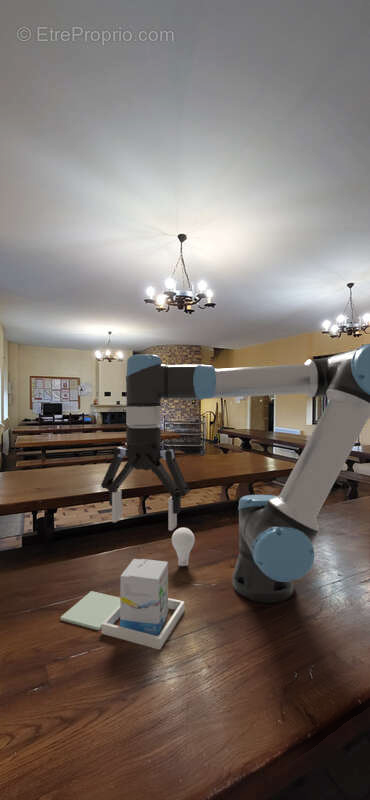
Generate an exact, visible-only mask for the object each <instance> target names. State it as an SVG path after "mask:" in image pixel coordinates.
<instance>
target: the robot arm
mask: <svg viewBox="0 0 370 800" xmlns="http://www.w3.org/2000/svg"><path fill="white" fill-rule="evenodd" d="M126 364H127V365H126V374H125V383H126V385H125V386H126V387H125V388H126V389H125V390H126V393H125V394H126V395H125V396H126V398H125V399H126V407H125V408H126V410H125V411H126V412H125V414H126V417H125V420H126V421H125V422H126V423H125V424H126V425H127V426H128V427H127V428H126V433H125V434H126V438H125V439H126V442H125V443H126V445H127V447H126V448H125V447H123V446H118V447H115V448H114V449H113V454H112V455H113V456H112V460H111V461H110V464H109V466H108V468H107V470H106V473H105V475H104V478H103V479H102V482H101V484H100V485H101V486H100V487H101V488H102V489H106V490H107V491H108V496H109V498H108V500H109V501H108V503H109V506H111V522H112V523H117V522H118V521H120V520H122V510H123V509H122V504H123V503H122V492H123V491H122V489H120V488H121V485H122V484H123V483H124V481H126V479H127V478H128V477H129V475H130V474H131V472H133V470H134V469H135V470H144V471H150V470H151V472H152V473H153V474H155V475H156V477H157V478H158V479H159V481H160V482H161V483H162V485H163V486H164V488H165V489H166V490H167V492H168V493H169V495H170V497H169V498H168V501H167V504H168V505H167V508H168V516H167V517H168V520H167V521H168V525H167V526H168V531H170V532H171V531H173V530H174V529H176V527H177V526H178V523H177V522H178V517H177V515H178V514H179V513H180V512H181V510H182V509H181V508H182V507H181V506H182V503H181V501H182V500H181V497H184V496H186V495H187V494H189V493H190V489H189V487H188V484H187V482H186V479H185V477H184V475H183V472H182V470H181V468H180V465H179V464H178V462H177V459H176V458H177V457H176V451H175V449H173V448H170V449H167V450H162V446H161V445H162V429H161V427H160V426H161V424H162V407H161V406H162V400H183V401H194V400H199V401H201V400H202V401H203V400H210V399H223V398H227V399H228V398H245V397H262V396H264V397H265V396H278V395H279V396H280V395H281V396H282V395H283V396H284V395H298V394H299V395H301V394H302V395H304V394H305V395H306V396H307V397H308V398H320V397H321V398H327V400H328V402H327V405H326V406H325V408H324V410H323V412H322V414H321V416H320V417H319V419H318V422H317V423H316V426H315V428H314V429H313V430H312V433H311V434H310V437H309V438H308V440H307V442H306V444H305V446H304V448H303V450H302V452H301V454H300V456H299V457H298V459H297V461H296V463H295V465H294V467H293V469H292V470H291V472H290V474H289V476H288V478H287V480H286V482H285V483H284V485H283V487H282V490H281V491H280V494H279V495H272V494H249V495H248V494H247V495H244V496H242V497H240V499H239V501H238V508H237V509H238V533H239V535H238V537H239V538H238V539H239V540H238V542H239V544H238V545H239V551H238V552H239V553H238V557H237V560H236V564H235V567H234V570H233V572H232V573H233V574H232V586H233V588H234V590H235V591H236V592H237V593H238V594H239V595H241V596H242V597H244V598H246V599H248V600H251V601H254V602H259V603H267V604H270V603H280V602H283V601H285V600H287V599H289V598H291V597H292V595H293V593H294V581H297V580H300V579H301V578H303V577H304V576H305V575H307V574H308V573H309V572H310V570H311V568H312V567H313V565H314V561H315V549H314V545H313V541H314V540H315V538H316V536H317V534H318V532H319V530H320V526H319V524H318V521H317V516H318V515H319V513H320V510H321V509H322V507H323V505H324V504H325V502H326V499H327V498H328V496H329V494H330V492H331V490H332V488H333V486H334V484H335V482H336V480H337V479H338V477H339V475H340V473H341V471H342V469H343V467H344V465H345V464H346V462H347V460H348V457H349V456H350V454H351V452H352V451H353V449H354V446H355V445H356V442H357V441H358V439H359V437H360V435H361V434H362V431H363V430H364V428H365V426H366V424H367V422H368V420H369V419H370V343H367V344H363V345H361V346H359V347H357V348H353V349H351V350H347V351H343V352H340V353H337V354H334V355H332V356H328V357H323V358H319V359H307V360H306V361H305V362H304V363H303V364H302V363H301V364H284V365H283V364H282V365H280V364H279V365H265V366H263V365H262V366H247V367H246V366H245V367H230V368H229V367H228V368H227V367H226V368H215V367H214V366H213V365H212V364H210V365H209V364H201V363H198V364H163V363H162V359H161V357H160V356H159V355H156V354H147V353H145V354H142V353H141V354H133V355H131V356H129V357H128V358H127V360H126ZM125 457H126V458H127V461H126V463H125V464H124V466H123V468H122V469H121V470H120V472H119V473H118V471H119V468H120V466H121V464H122V462H123V460H124V458H125ZM161 458H163V460H164V461H166V466H167V468H168V470H169V472H170V474H171V476H170V475H169V473H168V471H167V470H166V468H165V467H164V465H163V463H162V462H161Z"/></svg>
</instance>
